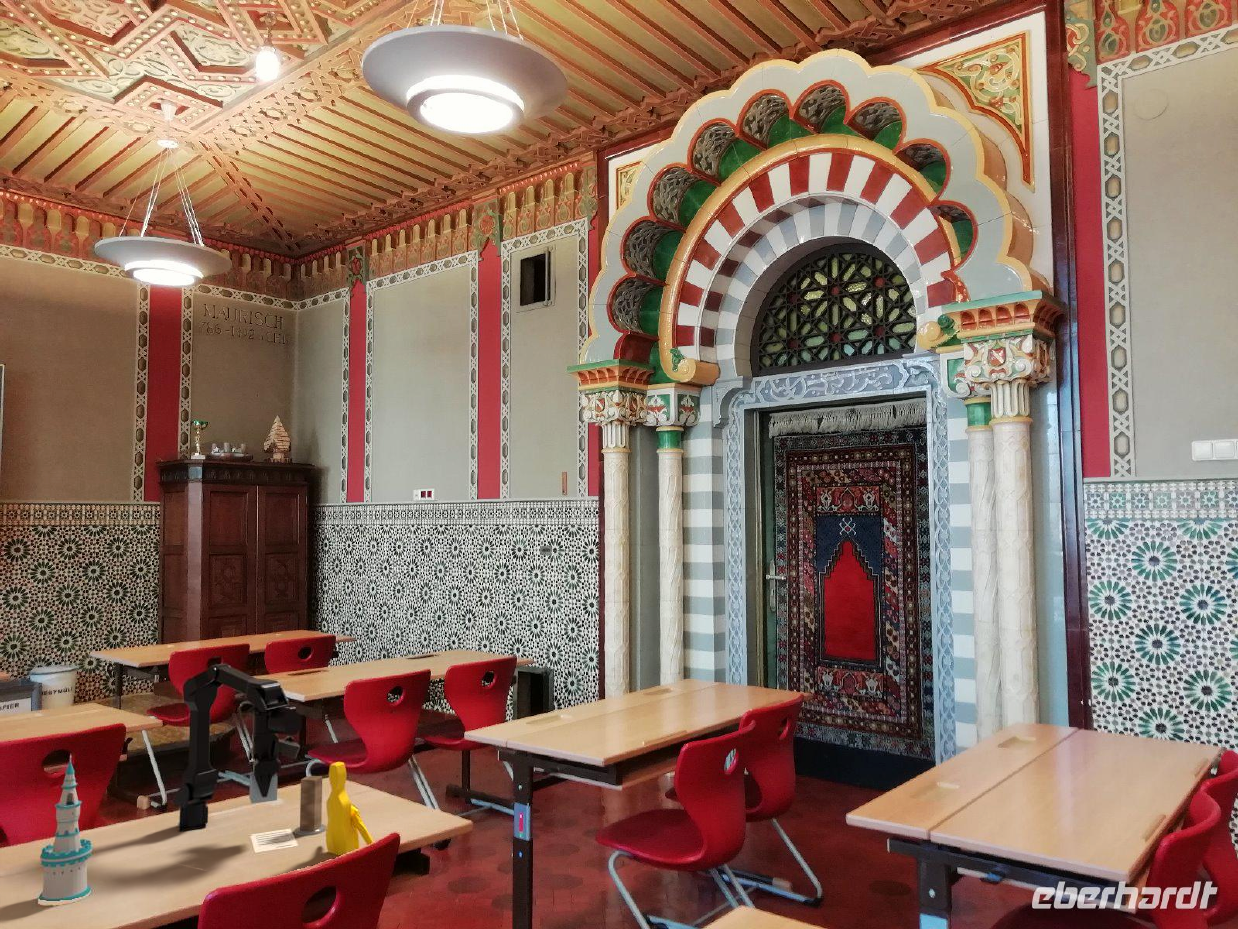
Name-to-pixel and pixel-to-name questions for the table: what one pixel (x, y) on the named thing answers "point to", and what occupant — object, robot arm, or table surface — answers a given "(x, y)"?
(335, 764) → the figure statuette
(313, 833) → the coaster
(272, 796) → the grey cube
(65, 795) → the model tower
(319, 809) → the walnut block
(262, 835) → the letter
